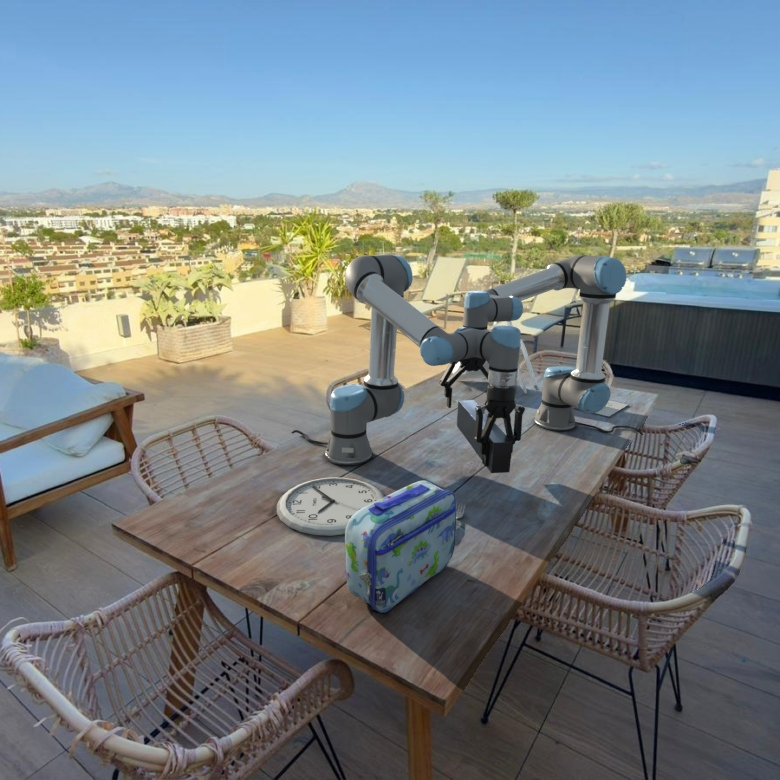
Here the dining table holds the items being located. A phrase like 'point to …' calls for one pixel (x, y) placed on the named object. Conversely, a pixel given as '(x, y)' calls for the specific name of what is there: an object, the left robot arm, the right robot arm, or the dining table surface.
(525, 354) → the white plastic object
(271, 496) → the dining table surface
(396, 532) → the lunch box
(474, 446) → the bar
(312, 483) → the wall clock
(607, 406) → the invitation card
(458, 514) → the fork
